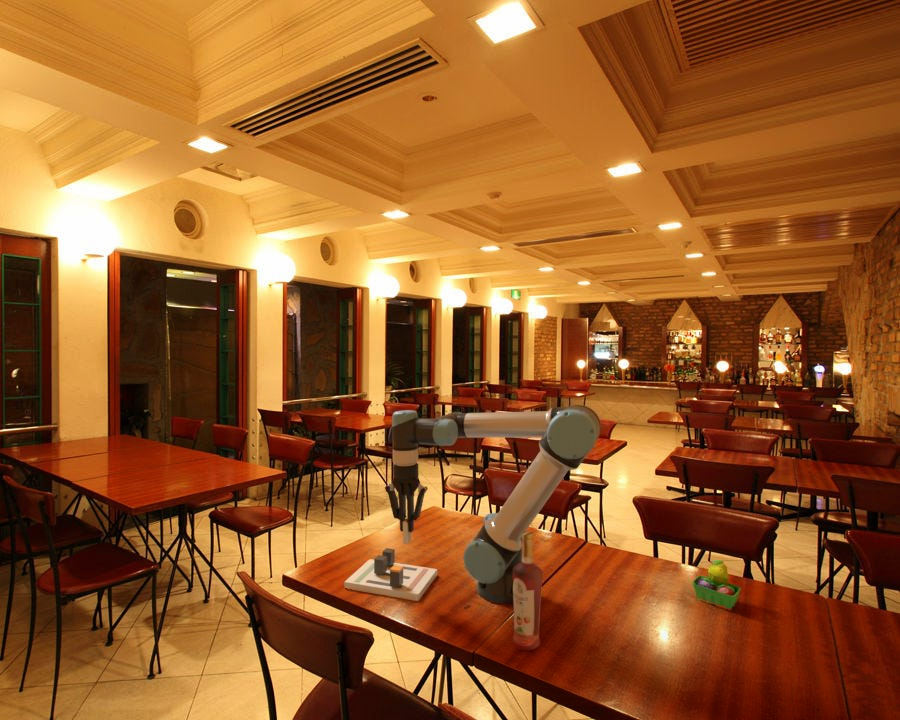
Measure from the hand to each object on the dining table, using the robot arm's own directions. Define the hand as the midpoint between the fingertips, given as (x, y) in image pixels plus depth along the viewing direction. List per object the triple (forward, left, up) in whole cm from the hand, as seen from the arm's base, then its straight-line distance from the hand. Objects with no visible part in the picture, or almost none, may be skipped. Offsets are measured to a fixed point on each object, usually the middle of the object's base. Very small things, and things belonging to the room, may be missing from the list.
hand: (407, 542), depth 146 cm
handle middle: (+11, -6, -13) cm, 19 cm away
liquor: (-38, +14, -16) cm, 43 cm away
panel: (+7, -6, -16) cm, 18 cm away
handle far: (+11, -12, -13) cm, 21 cm away
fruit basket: (-88, -25, -16) cm, 92 cm away
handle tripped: (+3, 0, -13) cm, 14 cm away
